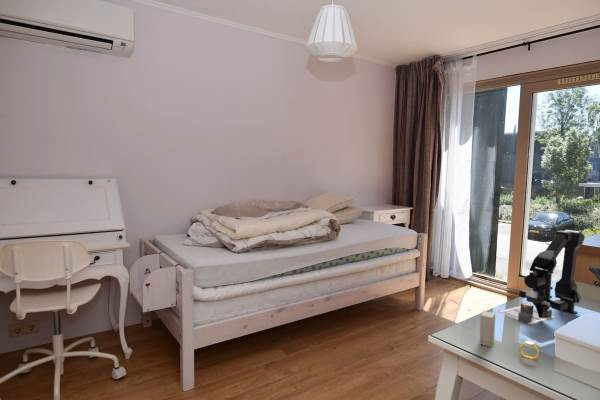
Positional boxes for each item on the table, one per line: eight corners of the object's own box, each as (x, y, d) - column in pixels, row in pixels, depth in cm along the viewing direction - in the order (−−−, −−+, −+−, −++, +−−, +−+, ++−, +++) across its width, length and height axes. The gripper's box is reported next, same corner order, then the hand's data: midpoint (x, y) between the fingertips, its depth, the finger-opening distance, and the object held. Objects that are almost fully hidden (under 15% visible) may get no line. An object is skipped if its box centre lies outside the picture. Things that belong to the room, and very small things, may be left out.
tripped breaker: (524, 311, 174) (525, 302, 173) (532, 315, 170) (533, 305, 170) (520, 312, 173) (520, 303, 172) (528, 316, 169) (529, 306, 168)
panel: (523, 307, 182) (523, 299, 182) (556, 320, 168) (557, 311, 167) (497, 313, 175) (498, 305, 175) (530, 327, 161) (530, 318, 160)
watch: (519, 357, 137) (518, 341, 137) (520, 354, 139) (520, 339, 139) (538, 361, 134) (538, 345, 133) (539, 358, 136) (538, 342, 135)
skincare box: (491, 348, 144) (492, 318, 142) (478, 344, 146) (480, 315, 145) (494, 341, 149) (495, 312, 147) (482, 338, 151) (483, 310, 150)
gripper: (511, 280, 169) (509, 312, 171) (553, 293, 152) (550, 329, 154) (527, 277, 173) (525, 308, 175) (569, 289, 156) (567, 324, 158)
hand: (540, 317), depth 165 cm, fingers closed
